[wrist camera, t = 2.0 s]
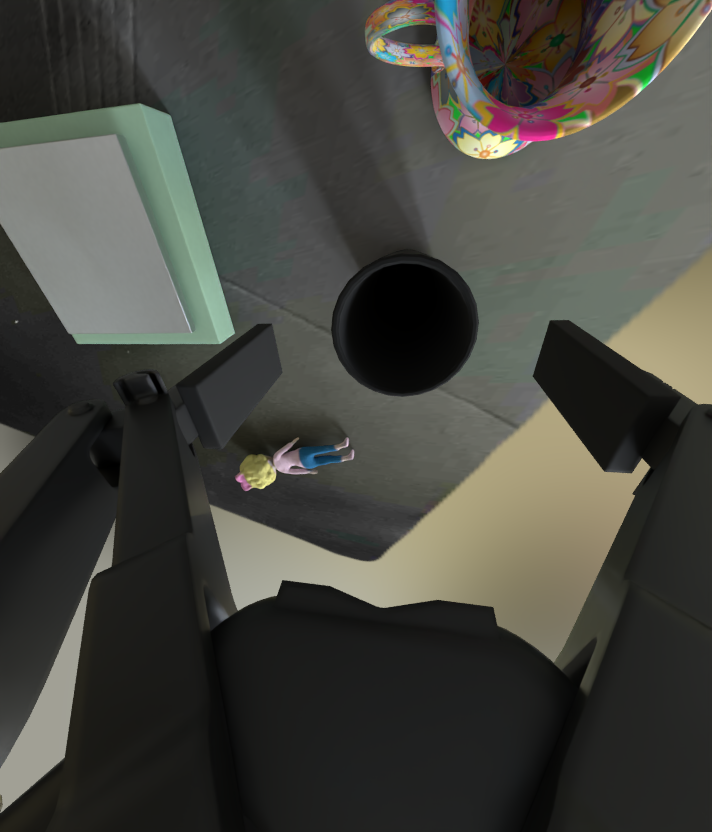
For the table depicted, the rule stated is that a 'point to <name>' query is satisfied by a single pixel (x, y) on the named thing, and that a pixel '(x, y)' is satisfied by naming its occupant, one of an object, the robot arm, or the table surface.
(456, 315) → the cup
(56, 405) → the table surface
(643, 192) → the table surface
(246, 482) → the figurine
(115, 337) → the scale
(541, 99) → the mug
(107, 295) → the pan
